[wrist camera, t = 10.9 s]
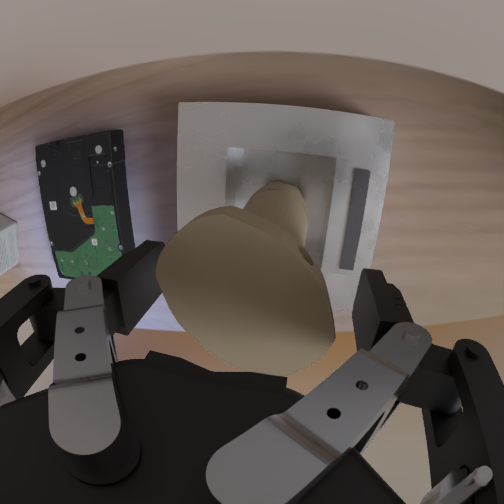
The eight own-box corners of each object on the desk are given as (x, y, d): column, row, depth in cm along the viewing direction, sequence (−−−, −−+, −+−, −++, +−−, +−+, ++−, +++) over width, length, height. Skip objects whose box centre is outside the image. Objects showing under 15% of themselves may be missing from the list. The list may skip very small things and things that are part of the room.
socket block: (200, 105, 23) (177, 102, 18) (378, 121, 21) (395, 121, 17) (197, 264, 28) (179, 289, 24) (352, 283, 27) (359, 313, 22)
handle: (285, 249, 25) (255, 392, 11) (231, 188, 24) (132, 276, 10) (332, 212, 23) (363, 336, 10) (278, 147, 22) (230, 181, 8)
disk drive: (51, 142, 27) (72, 269, 32) (33, 146, 24) (57, 279, 30) (126, 127, 25) (144, 276, 31) (109, 128, 22) (131, 289, 28)
